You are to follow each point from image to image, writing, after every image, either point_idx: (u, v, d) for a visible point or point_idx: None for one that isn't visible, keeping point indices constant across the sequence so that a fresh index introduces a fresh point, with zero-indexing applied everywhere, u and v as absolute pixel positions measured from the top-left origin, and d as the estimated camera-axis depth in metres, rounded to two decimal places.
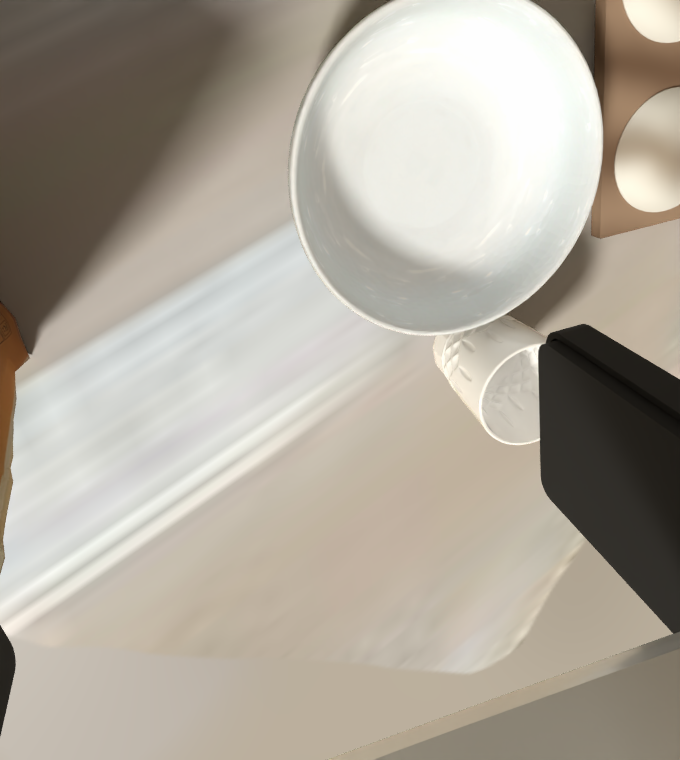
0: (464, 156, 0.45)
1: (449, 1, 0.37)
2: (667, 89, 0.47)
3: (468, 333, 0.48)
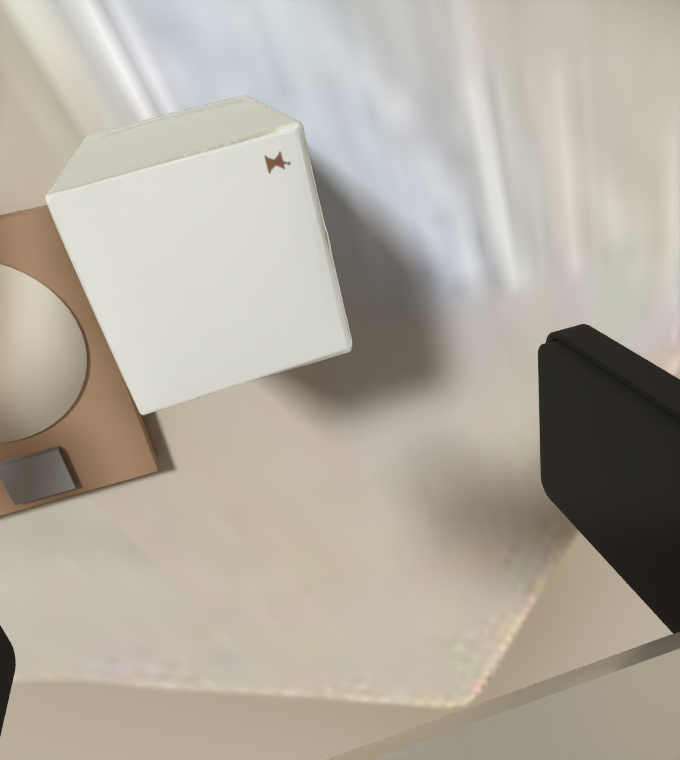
0: None
1: None
2: None
3: None
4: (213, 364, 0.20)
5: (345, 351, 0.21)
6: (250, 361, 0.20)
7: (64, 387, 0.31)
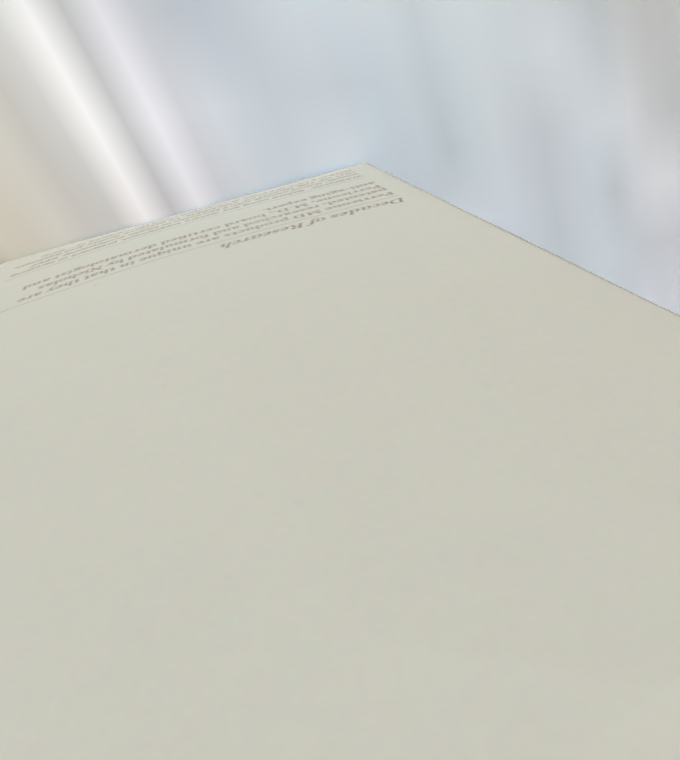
0: None
1: None
2: None
3: None
4: None
5: None
6: None
7: None
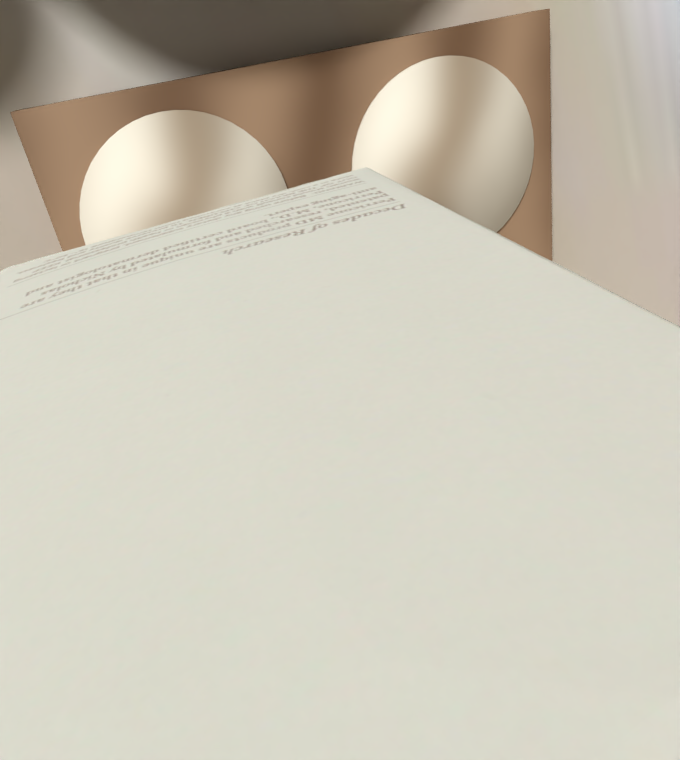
0: None
1: None
2: None
3: None
4: None
5: None
6: None
7: (504, 202, 0.32)
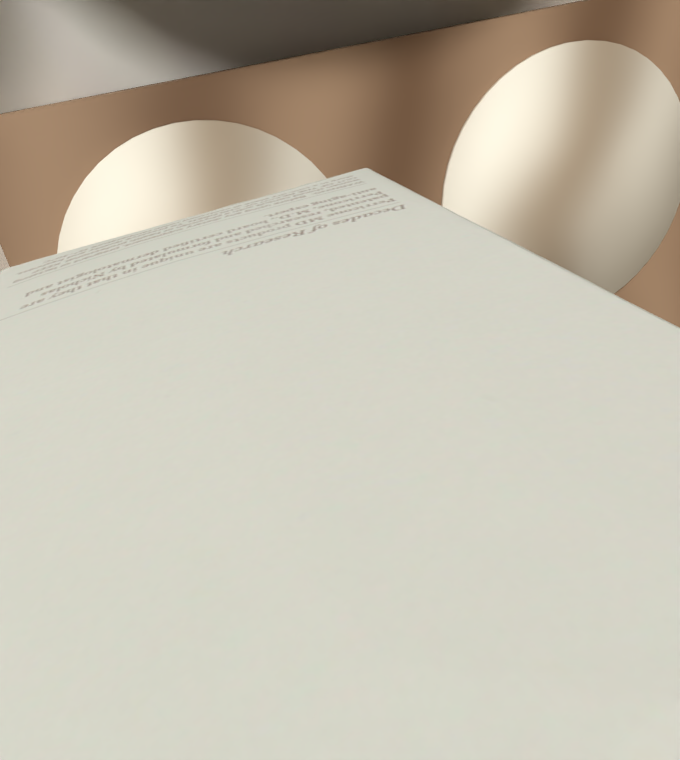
0: None
1: None
2: None
3: None
4: None
5: None
6: None
7: (641, 243, 0.23)
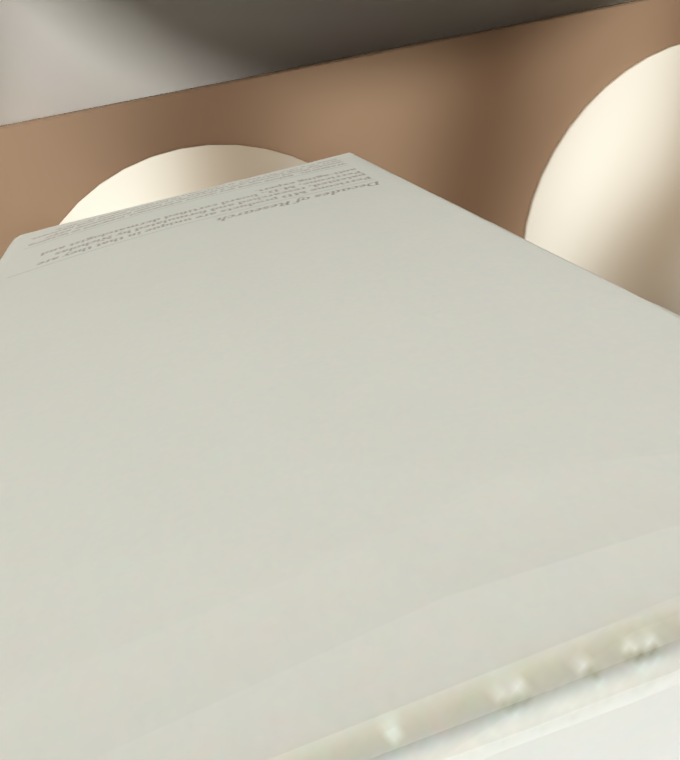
0: None
1: None
2: None
3: None
4: None
5: None
6: None
7: None
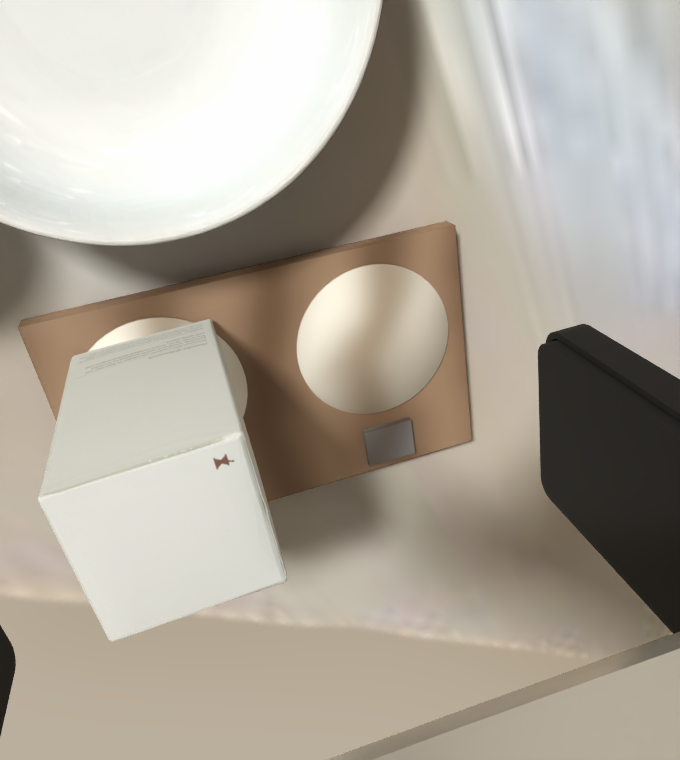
0: (127, 50, 0.28)
1: None
2: (243, 369, 0.35)
3: None
4: (170, 602, 0.24)
5: (280, 583, 0.26)
6: (201, 597, 0.25)
7: (426, 368, 0.38)
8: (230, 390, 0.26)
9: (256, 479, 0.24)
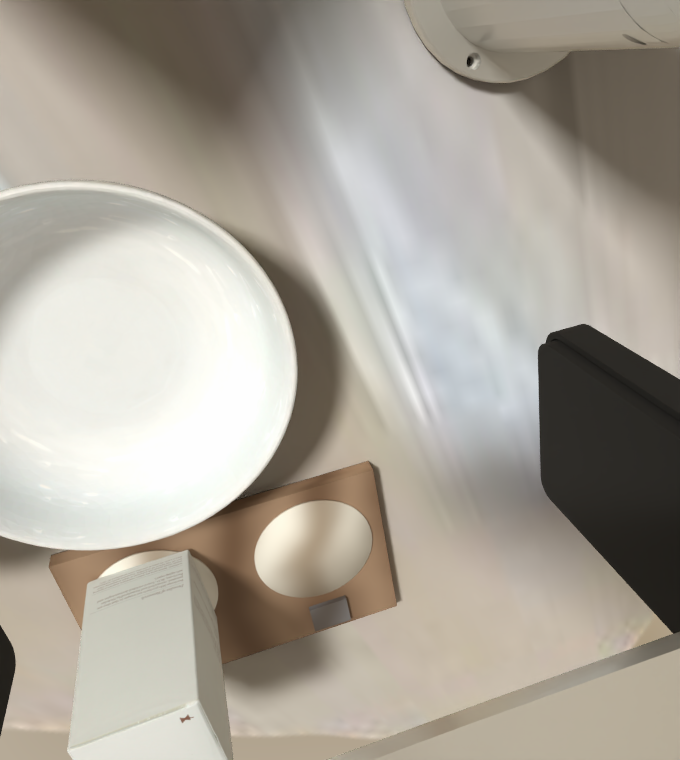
0: (123, 394, 0.40)
1: (278, 351, 0.36)
2: (214, 577, 0.47)
3: None
4: None
5: None
6: None
7: (356, 563, 0.50)
8: (195, 648, 0.38)
9: (209, 723, 0.36)
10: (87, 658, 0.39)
